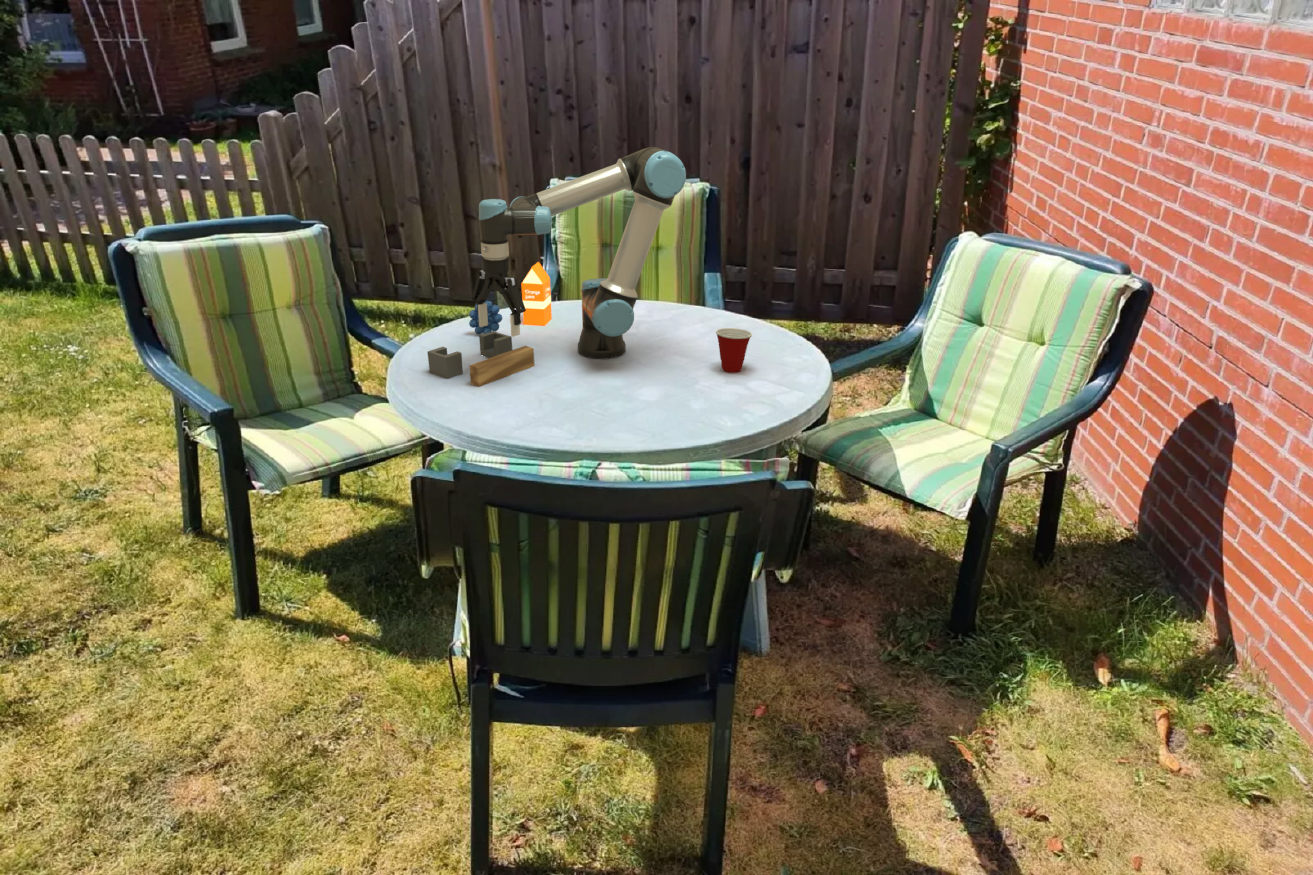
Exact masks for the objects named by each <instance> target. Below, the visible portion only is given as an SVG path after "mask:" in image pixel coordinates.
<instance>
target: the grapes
mask: <svg viewBox="0 0 1313 875" xmlns="http://www.w3.org/2000/svg"><path fill="white" fill-rule="evenodd" d="M483 303H487V315H488V325H486V326H483V327H479V315H478V312H477V304H476V303H475V305H474V309H471V310H470V311H469V315H468V316H469V318H471V319H470V320H469V323H468V325H469V327H470V328H471V329H472V328H473V329H474V333H475V334H476V335H478V336H479V335H482V334H485V333H488V332H491V331H494V332H498V331H499V329H500V324H499V323H501V322H502V320H503V315H502V314H501V313H499V312H500V309H501V308H500V306H499V305H496V304H493V302H492V301H490V300H486V302H483Z"/></svg>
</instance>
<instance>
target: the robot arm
mask: <svg viewBox="0 0 1313 875" xmlns="http://www.w3.org/2000/svg"><path fill="white" fill-rule="evenodd" d="M686 171H687V170H686V168H685V166H684V163H683V162H682V160H681V159H680V158H679V157H678V156H676V154H674V153H672V152H670V151H667V150H665V149H663V148H661V147H657V146H651V147H650V146H649V147H646V148H642V149H640V150H637V151H635V152H632V153H630V154H629V155H626V156H623V157H620V158H618V159H617V161H616V163H615V164H612V165H610V166H606V167H604V168H602V169H598V170H595V171H593V172H590V173H588V174H584V175H581V176H579V177H577V178H573V179H571V180H569V181H566V182H563V183H560V184H558V185H556V186H552V187H550V188H547V189H544V190H541V191H539V192H537V193H534V194H533V193H532V194H530V195H528V196H517V197H516V198H514V199H513V200H512V201H511V202H510V204H509V206H508V205H507V202H506V200H503V199H501V198H500V199H499V198H489V199H483V200H481V201H480V202H479V204H478V221H479V222H478V224H479V236H480V250H481V252H480V253H481V256H482V258H481V270H479V271H476V280H475V283H474V287H473V291H472V294H471V297H470V300H471V301H473V302H475V305H476V304H477V312H478V315H479V327H483V326H486V325H488V315H487V303H484V302H486V301H487V299H488V297H489V295H490V294H491V292H492V291H495V292H498V293H499V294H500V295H501V296H502V297H503V299H504V301H505V302H506V304H507V306H508V307H509V310H510V311H511V313H510V314H509V315H510V316H509V317H510V318H509V319H510V320H509V321H510V336H511V337H513V338H514V337H517V336H521V324H522V323H521V320H522V319H521V318H522V317H521V314H523V312H525V311H526V309H525V306H524V303H523V300H522V294H521V292H520V290H519V287H518V283H517V278H516V277H514V276H513V277H509V276H508V273H509V271H510V270H511V269H510V267H511V266H510V258H509V255H510V248H509V236H526V235H527V236H528V235H529V236H531V235H537V236H540V235H546V234H549V233H550V232H551V230H552V217H553V216H555V215H559V214H562V213H564V212H566V211H569V210H573V209H575V208H578V207H581V206H583V205H585V204H588V203H589V204H590V202H591V203H592V202H593V201H596V200H600V199H603V198H605V197H608V196H610V195H613V194H615V193H618V192H621V191H624V190H626V191H628V192H631V191H632V193H633V197H634V203H633V206H632V208H631V211H630V214H629V216H628V220H627V222H626V225H625V228H624V231H623V233H622V237H621V240H620V243H619V245H618V246H617V251H616V253H615V256H614V259H613V262H612V265H611V267H610V270H609V271H608V272H609V273H608V275H607V278H605V277H604V278H603V277H602V278H598V277H597V278H590V279H586V280H584V281H582V283H581V289H580V293H581V313H582V314H581V316H582V320H581V321H582V328H581V332H580V336H579V339H578V342H577V353H578V355H579V356H581V357H585V358H588V359H595V360H608V359H614V358H619V357H621V356H623V355H624V354H626V352H627V351H626V350H627V349H626V347H627V346H626V344H627V343H626V342H625V340H624V336H623V335H624V334H625V333H627V332H628V331H629V330H630V329H631V328H632V327H633V324H634V321H635V313H634V307H635V305H636V303H637V300H638V293H637V291H636V288H637V285H638V281H639V279H640V276H641V273H642V272H643V268H644V265H645V263H646V260H647V256H648V254H649V251H650V248H651V246H652V244H653V242H654V238H655V236H656V232H657V230H658V228H659V225H660V222H661V219H662V216H663V214H664V211H665V210H667V209H668V208H670V207H672V204H673V201H674V198H675V196H677V195H678V194H679V193H680V192H681V191H682V190H683V188H684V186H685V184H686V179H687V172H686Z"/></svg>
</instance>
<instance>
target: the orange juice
mask: <svg viewBox="0 0 1313 875" xmlns="http://www.w3.org/2000/svg"><path fill="white" fill-rule="evenodd" d="M551 293H552V292H551V278H550V276H549V274H548V273H547V272H546V270H545V269H544V268H543V266H542V264H541V263H540V262H539V261H538V262H536V263H535V264H533V265H532V266H531V268H530V270H529V271H528V272H527V274H526V276H525V278H524V279H523V281H522V282H521V298H522V300H523V303H524V306H525V309H526V311H525V312H522V314H523V316H522V317H523V325H524V326H535V327H536V326H538V327H546V326H547V324H548V323H549V322H550V321H551V320H552V317H553V316H552V294H551Z"/></svg>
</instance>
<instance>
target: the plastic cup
mask: <svg viewBox="0 0 1313 875" xmlns="http://www.w3.org/2000/svg"><path fill="white" fill-rule="evenodd" d="M715 334H716V336H717V342H718V349H719V357H720V358H719V359H720V363H721V368H722V371H723V372H725V373H728V374H729V373H730V374H736V373H739V372H741V371H742V369H743V364H744V361H745V357H746V354H747V348H748V345H749V342H750V339H751V338H752V336H753V333H752V332H751V331H748V330H746V329H741V328H737V327H736V328H734V327H723V328H718V329H716V330H715Z"/></svg>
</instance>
